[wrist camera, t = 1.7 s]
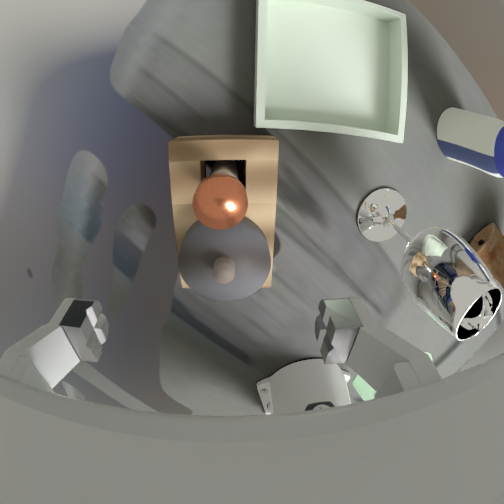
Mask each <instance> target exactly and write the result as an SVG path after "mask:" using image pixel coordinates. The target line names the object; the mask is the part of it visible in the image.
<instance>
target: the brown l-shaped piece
mask: <svg viewBox="0 0 504 504" xmlns="http://www.w3.org/2000/svg"><path fill="white" fill-rule="evenodd" d="M470 245H471V246H472V247H473V249H474V250H475V251H476V252H477V254H478V255H479V256H480V258H481V259H482V261H483V262H484V263H485V265H486V266H487V268H488V269H489V271H490V272H491V274H492V276H493V277H494V278H495V279H496V280H497V281H498V282H499V283H500V284H501V286H502V287H503V288H504V236H503V235H502V233H501V232H500V231H499V229H498V228H497V227H496V225H495V224H494V223H491V224H489V225H488V226H486V227H485V228H483V229H482V230H481V231H480V232H478V233H477V234H476V235H475V236H474V238H473V239H472V240H471V242H470Z"/></svg>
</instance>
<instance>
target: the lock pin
mask: <svg viewBox="0 0 504 504" xmlns="http://www.w3.org/2000/svg"><path fill="white" fill-rule="evenodd" d="M192 206H193V211H194V213H195V215H196V217H197V218H198V220H199V221H200V222H201V223H202V224H204V225H205V226H207V227H209V228H212V229H218V230H223V229H228V228H231V227H233V226H235V225H237V224H238V223H239V222H240V221H241V220H242V219H243V218H244V216H245V214H246V212H247V208H248V199H247V193H246V190H245V188H244V186H243V184H242V183H241V182H240V181H239V180H238V167H237V165H236V163H235V162H234V161H233V160H217V161H216V162H215V163H214V165H213V168H212V170H211V173H210V176H208V177H207V178H205V179H204V180H203V181H201V183H200V184H199V185H198V187H197V189H196V191H195V193H194V196H193V201H192Z"/></svg>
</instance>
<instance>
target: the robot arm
mask: <svg viewBox="0 0 504 504" xmlns="http://www.w3.org/2000/svg"><path fill="white" fill-rule="evenodd" d="M102 309H103V307H102V305H101V303H100V301H98V300H91V299H80V298H77V299H76V298H65V299H64V300H63V302H62V303H61V305H60V306H59V308H58V309H57V311H56V312H55V314H54V316H53V317H52V319H51V320H50V322H49V324H44V325H43V326H41V327H40V328H38V329H37V330H36V331H34V332H32V333H31V334H29V335H28V336H26V337H25V338H23V339H22V340H20V341H19V342H17V343H16V344H14V345H13V346H12V347H10V348H9V349H7V350H6V351H5V353H4V355H3V356H2V358H1V360H0V504H504V353H503V354H500V355H498V356H496V357H494V358H491V359H489V360H487V361H485V362H483V363H481V364H479V365H476V366H474V367H471V368H470V369H467V370H464V371H462V372H459V373H457V374H454V375H452V376H449V377H446V378H444V379H442V378H441V377H440V375H439V373H438V371H437V369H436V368H435V366H434V364H433V362H432V361H431V359H430V357H429V355H428V354H426V353H424V352H423V351H421V350H420V349H418V348H416V347H415V346H413V345H412V344H410V343H409V342H407V341H405V340H404V339H402V338H401V337H399V336H397V335H396V334H394V333H393V332H391V331H389V330H388V329H386V328H385V327H383V326H381V325H377V324H376V323H375V321H374V319H373V317H372V315H371V314H370V312H369V310H368V308H367V306H366V305H365V303H364V301H363V300H362V298H361V297H359V296H358V297H348V298H338V299H324V300H321V301H320V303H319V308H318V309H319V311H320V314H319V315H318V316H317V317H316V322H315V335H316V339H317V342H318V343H320V344H321V345H322V346H321V350H320V352H321V355H322V358H323V359H309V360H303V361H299V362H295V363H292V364H290V365H287V366H285V367H283V368H282V369H280V370H278V371H277V372H276V373H274V374H273V375H272V376H270V377H268V378H266V379H263V380H261V381H259V382H257V389H258V392H259V395H260V398H261V401H262V404H263V407H264V410H265V413H266V415H248V416H199V415H180V414H166V413H156V412H147V411H139V410H132V409H125V408H119V407H112V406H107V405H102V404H97V403H92V402H87V401H83V400H79V399H74V398H70V397H67V396H63V395H59V394H56V393H55V392H54V391H53V390H52V388H53V387H54V386H55V385H56V384H57V383H58V382H59V381H60V380H61V379H62V378H63V377H64V376H65V375H66V374H67V373H68V372H69V371H70V370H71V369H72V368H73V367H74V366H75V365H77V364H78V363H79V362H80V360H85V361H93V362H98V361H99V358H100V355H101V353H102V350H103V348H102V345H101V344H103V343H104V342H105V341H106V340H107V337H108V334H109V325H108V321H107V318H106V317H105V316H104V315H103V314H102V313H101V312H102ZM345 362H346V364H347V365H348V366H349V367H350V368H352V369H353V370H354V371H355V372H356V373H357V374H358V375H359V376H360V377H361V378H362V379H363V380H364V381H366V382H367V383H368V384H369V385H370V386H371V387H372V388H373V389H374V390H375V391H376V392H377V394H376V395H375V397H374V398H373V399H372V400H367V401H362V402H358V403H353V404H351V401H350V396H349V392H348V388H347V384H346V383H347V382H348V381H349V380H350V373H349V372H347V371H344V370H341V369H340V367H339V366H338V365H337V364H336V363H345Z"/></svg>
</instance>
